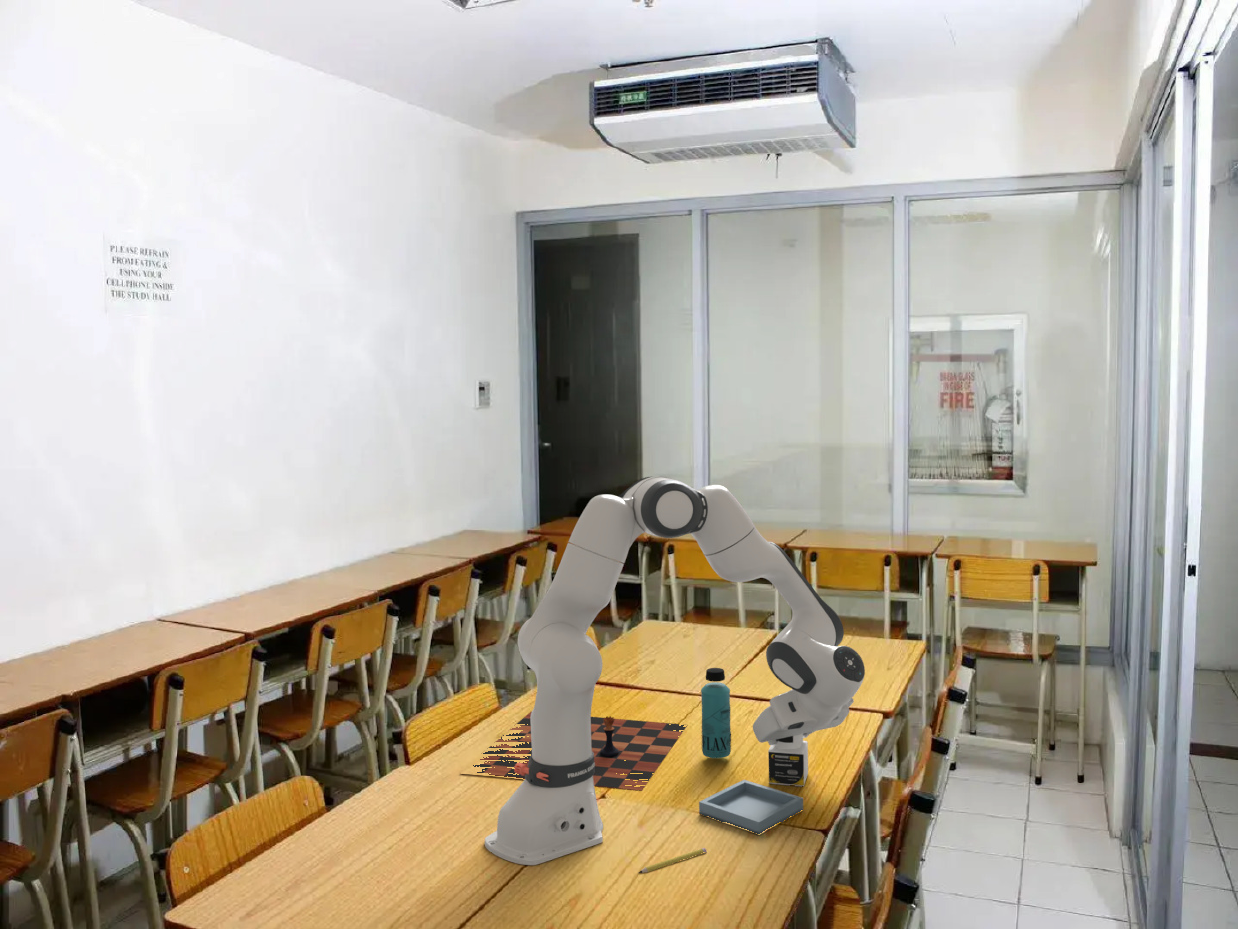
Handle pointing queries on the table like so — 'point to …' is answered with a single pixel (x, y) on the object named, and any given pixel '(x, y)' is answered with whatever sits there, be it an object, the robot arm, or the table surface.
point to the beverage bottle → (716, 716)
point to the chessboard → (603, 750)
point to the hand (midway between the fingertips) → (786, 738)
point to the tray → (751, 806)
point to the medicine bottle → (788, 761)
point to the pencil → (672, 860)
